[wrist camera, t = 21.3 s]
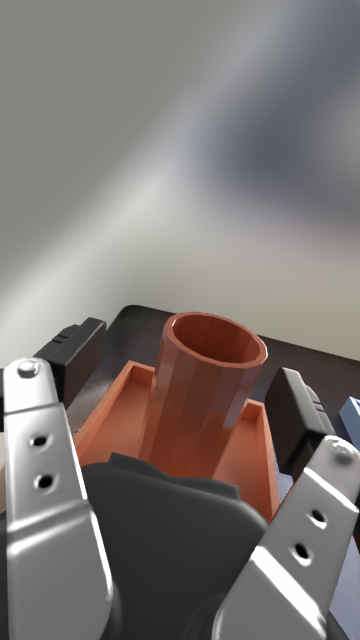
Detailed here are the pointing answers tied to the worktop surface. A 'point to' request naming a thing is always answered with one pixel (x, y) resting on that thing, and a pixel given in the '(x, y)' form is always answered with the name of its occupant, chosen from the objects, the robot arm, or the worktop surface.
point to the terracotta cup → (198, 393)
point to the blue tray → (352, 420)
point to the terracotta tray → (126, 422)
